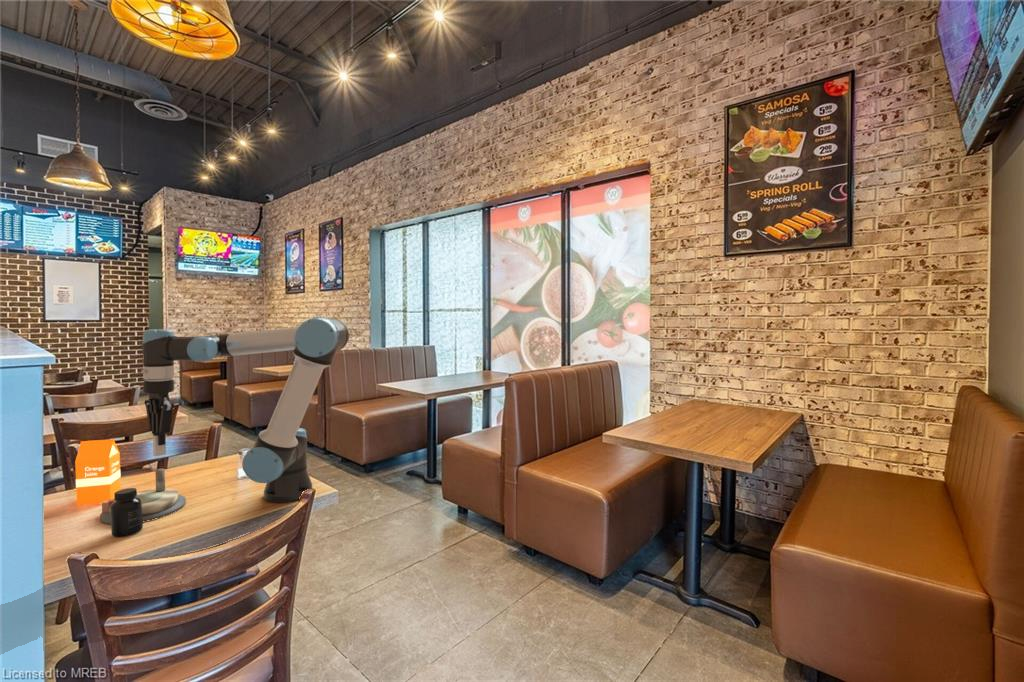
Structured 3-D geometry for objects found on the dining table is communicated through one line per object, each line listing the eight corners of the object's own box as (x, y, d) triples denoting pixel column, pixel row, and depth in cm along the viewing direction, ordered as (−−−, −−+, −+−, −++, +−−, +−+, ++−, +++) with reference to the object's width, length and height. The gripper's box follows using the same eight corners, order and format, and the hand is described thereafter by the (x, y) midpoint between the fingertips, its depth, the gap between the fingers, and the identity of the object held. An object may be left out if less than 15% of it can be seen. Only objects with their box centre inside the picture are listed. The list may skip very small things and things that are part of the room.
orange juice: (88, 496, 152) (86, 438, 151) (121, 493, 155) (119, 436, 154) (76, 505, 145) (74, 444, 144) (110, 502, 148) (108, 442, 147)
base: (193, 493, 156) (193, 482, 156) (173, 518, 136) (173, 506, 136) (118, 501, 148) (117, 489, 148) (85, 530, 129) (84, 516, 129)
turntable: (140, 495, 151) (139, 467, 150) (190, 495, 151) (190, 468, 150) (92, 517, 134) (91, 486, 133) (149, 518, 134) (149, 487, 133)
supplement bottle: (143, 524, 133) (142, 484, 132) (142, 533, 127) (141, 491, 127) (112, 531, 128) (110, 489, 128) (110, 540, 123) (108, 497, 122)
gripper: (133, 378, 139) (135, 454, 140) (154, 382, 132) (155, 461, 133) (162, 376, 145) (163, 448, 146) (183, 380, 139) (184, 455, 140)
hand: (159, 454), depth 140 cm, fingers closed
